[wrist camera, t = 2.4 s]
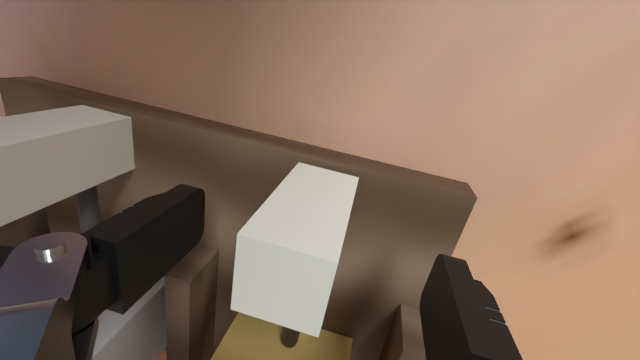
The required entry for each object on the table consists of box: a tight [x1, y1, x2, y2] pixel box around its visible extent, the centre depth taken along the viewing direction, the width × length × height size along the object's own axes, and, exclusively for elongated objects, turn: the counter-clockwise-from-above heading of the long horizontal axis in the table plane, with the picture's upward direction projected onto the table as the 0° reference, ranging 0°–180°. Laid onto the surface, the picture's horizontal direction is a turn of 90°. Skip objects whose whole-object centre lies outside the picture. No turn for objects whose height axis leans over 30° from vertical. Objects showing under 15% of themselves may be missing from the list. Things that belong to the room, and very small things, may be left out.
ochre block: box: [210, 162, 359, 360], centre depth 12 cm, size 14×6×6 cm, turn 169°
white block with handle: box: [0, 105, 167, 360], centre depth 14 cm, size 14×6×6 cm, turn 169°
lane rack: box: [0, 77, 477, 360], centre depth 15 cm, size 15×22×4 cm
